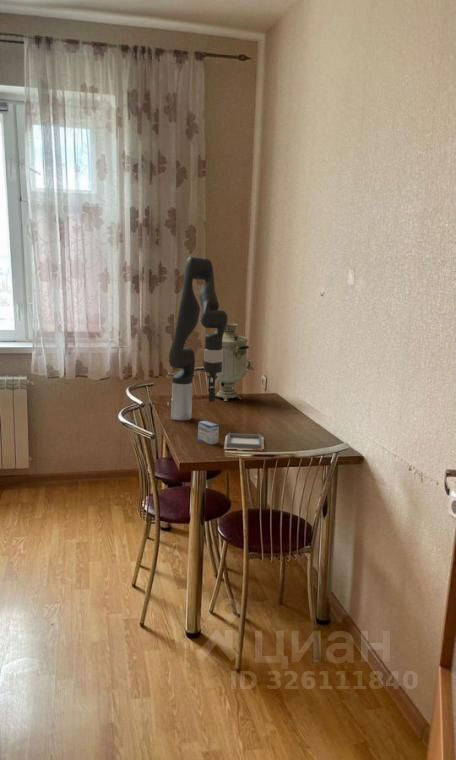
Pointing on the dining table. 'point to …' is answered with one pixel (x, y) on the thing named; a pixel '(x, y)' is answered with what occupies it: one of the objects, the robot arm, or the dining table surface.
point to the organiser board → (243, 441)
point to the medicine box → (208, 432)
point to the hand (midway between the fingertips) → (212, 399)
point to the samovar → (232, 361)
